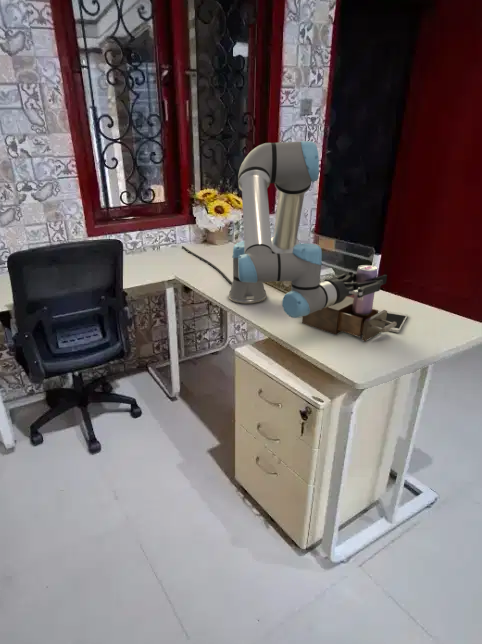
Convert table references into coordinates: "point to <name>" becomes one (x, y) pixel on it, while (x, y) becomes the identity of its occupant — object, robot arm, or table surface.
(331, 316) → the cabinet
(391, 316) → the smartphone
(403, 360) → the table surface
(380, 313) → the drawer
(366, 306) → the beverage can
